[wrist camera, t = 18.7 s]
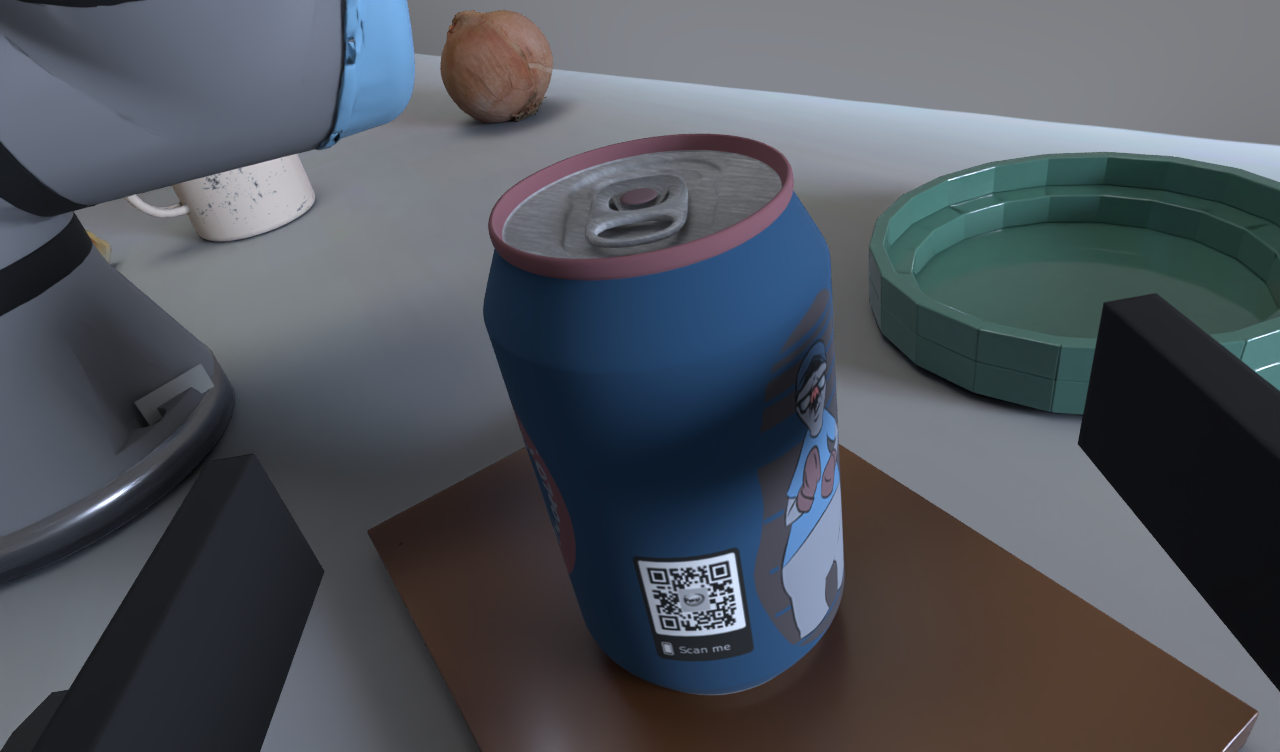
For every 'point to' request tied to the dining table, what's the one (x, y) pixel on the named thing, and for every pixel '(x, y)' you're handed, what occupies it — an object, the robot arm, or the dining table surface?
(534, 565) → the board
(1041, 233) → the bowl
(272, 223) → the teacup with lid
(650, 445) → the soda can
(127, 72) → the robot arm
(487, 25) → the onion
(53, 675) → the dining table surface
